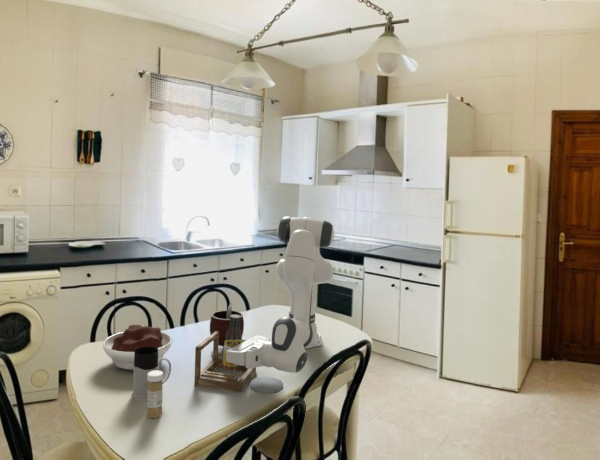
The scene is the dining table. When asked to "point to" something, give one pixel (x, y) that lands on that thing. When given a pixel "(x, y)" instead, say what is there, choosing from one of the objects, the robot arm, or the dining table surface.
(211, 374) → the birch offcuts
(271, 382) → the slate mat
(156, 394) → the sprinkles bottle
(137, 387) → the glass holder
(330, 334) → the dining table surface
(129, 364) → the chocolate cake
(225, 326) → the mate gourd
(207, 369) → the walnut rack
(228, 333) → the sauce bottle
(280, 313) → the dining table surface
